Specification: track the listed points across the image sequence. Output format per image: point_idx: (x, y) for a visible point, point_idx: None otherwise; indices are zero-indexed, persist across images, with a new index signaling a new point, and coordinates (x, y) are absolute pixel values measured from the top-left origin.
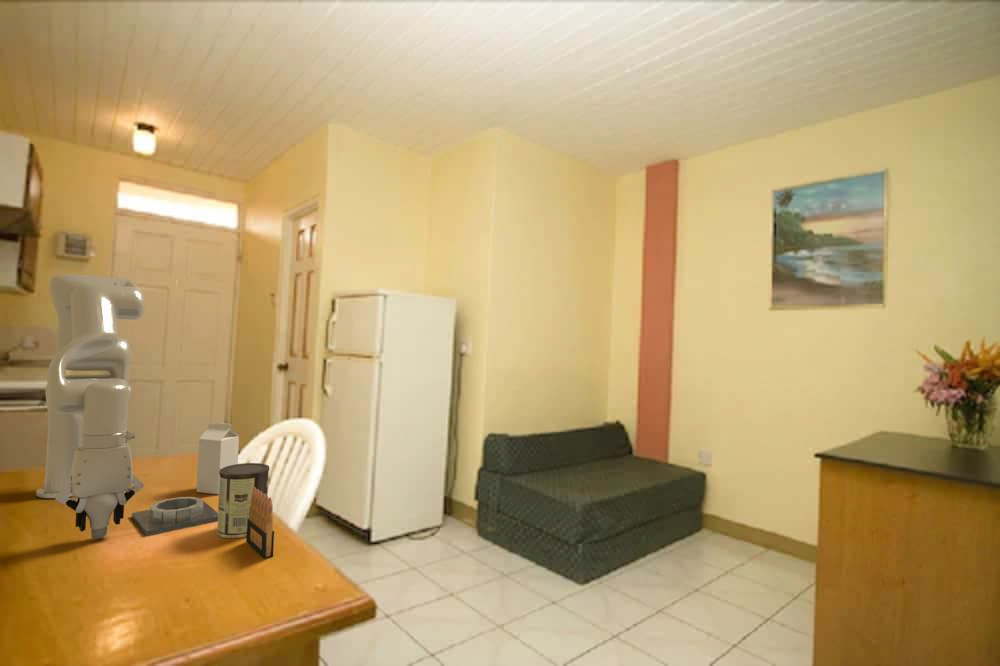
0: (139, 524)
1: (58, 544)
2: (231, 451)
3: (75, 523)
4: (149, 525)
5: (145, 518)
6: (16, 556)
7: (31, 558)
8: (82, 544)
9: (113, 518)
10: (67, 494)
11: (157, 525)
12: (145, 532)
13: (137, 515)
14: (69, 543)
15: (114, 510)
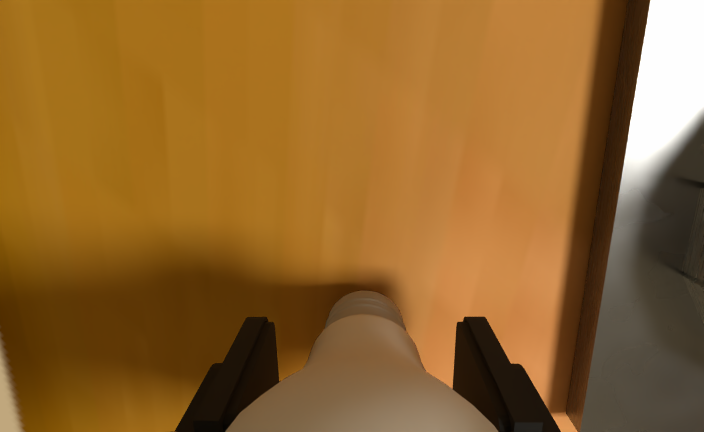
0: (601, 258)
1: (182, 259)
2: None
3: (212, 367)
4: (633, 346)
5: (675, 184)
6: (19, 312)
7: (88, 379)
8: (288, 336)
9: (460, 336)
10: None
11: (667, 374)
12: (576, 410)
13: (664, 64)
14: (232, 279)
15: (478, 409)
